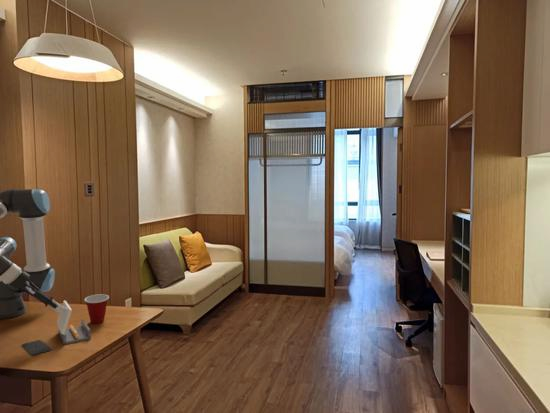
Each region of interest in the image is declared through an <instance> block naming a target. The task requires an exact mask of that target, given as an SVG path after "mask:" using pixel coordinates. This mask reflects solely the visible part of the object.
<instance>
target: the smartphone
mask: <svg viewBox="0 0 550 413" xmlns="http://www.w3.org/2000/svg"><path fill="white" fill-rule="evenodd" d="M21 348H23V350H25V352H26V353H28V354H29V355H30V356H31V357H34V356H37V355H42V354H45V353H48V352H52V351H53V348H52V347H50V346H49V345H48V344H47V343H46V342H44V341H43V340H41V339H37V340H33V341H29V342H25V343H23V344H21Z"/></svg>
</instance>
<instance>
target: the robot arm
mask: <svg viewBox="0 0 550 413" xmlns="http://www.w3.org/2000/svg"><path fill="white" fill-rule="evenodd" d="M50 209H51V204H50V199H49V195H48V193H47V192H46V191H44V190H43V189H35V188H27V189H25V188H19V189H16V188H14V189H13V188H12V189H10V188H9V189H5V190H2V191H0V219H1V218H4V217H5V216H6V215H7V214H18V218H19V219H21V220H22V224H23V236H24V247H25V248H24V249H25V258H26V260H25V261H26V265H25V266H24V267H23V270H22V268H21V267H20V266H18V265H17V264H15V263H14V262H12V261H11V260H10V259H11V257H12V256H13V255H14V253H15V251H16V249H17V246H18V245H17V242H16V240H15V239H13V238H12V237H8V236H4V237H0V320H1V319H3V320H4V319H10V318H14V317H15V318H16V317H18V316H21V315H24V314H26V313H27V306H26V305H25V304H26V303H25V301H24V299H23V297H22V296H23V295H22V294H28V295H30V296H31V297H32V298H35V299H36V300H38V301H39V302H41V303H42V304H44V306H45V307H49V308H51V309H52V310H53V311H55V312H56V313H58V315H59V314H61V313H62V312H63V311H64V310H65V308H64V307H63V306H62V304H59V303H58V302H57V301H55V299H53V298H54V297H53V296H50V295H48V294H46V292H49V291H51V289H52V288H53V285H54V283H55V277H56V270H55V269H54V268H51V264H49V262H48V261H47V254H46V253H47V250H46V242H45V240H46V239H45V227H44V226H45V225H44V218H45V217H46V216H47V213H49V211H51V210H50Z"/></svg>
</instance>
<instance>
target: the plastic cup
mask: <svg viewBox="0 0 550 413" xmlns="http://www.w3.org/2000/svg"><path fill="white" fill-rule="evenodd" d="M109 299H110V295H108V294H103V293H100V294H92V295H88V296H86V297H85V298H84V302H85V305H86V307H87V312H88V317H89V320H90V323H91V324H94V325H95V324H100V323H103V322H104V321H105V316H106V311H107V305H108V302H109Z"/></svg>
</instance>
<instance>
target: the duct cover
mask: <svg viewBox="0 0 550 413" xmlns="http://www.w3.org/2000/svg"><path fill="white" fill-rule="evenodd" d="M61 306H63V307H64V308H65V310H64V311H63V312H62V313H61V314H59V313H58V317H57V319H56V321H55V322H56V323H55V324H56V325H57V328H58V331H59V330H60V332H61V334H64V333H65V330H66V329H67V327H68V325H69V324H68V323H69V321H70V318H71V314H72V312H73V309H72V308H71V306H70V305H69V303H68V302H67V300H63V302H62V304H61Z"/></svg>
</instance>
